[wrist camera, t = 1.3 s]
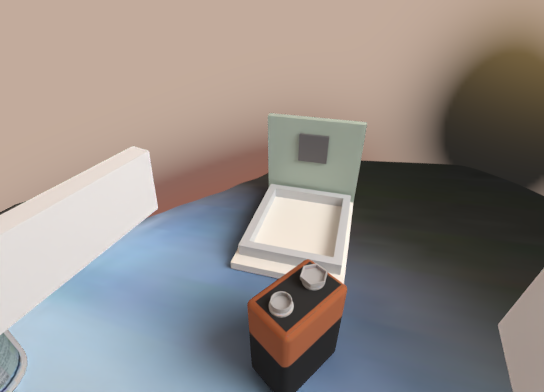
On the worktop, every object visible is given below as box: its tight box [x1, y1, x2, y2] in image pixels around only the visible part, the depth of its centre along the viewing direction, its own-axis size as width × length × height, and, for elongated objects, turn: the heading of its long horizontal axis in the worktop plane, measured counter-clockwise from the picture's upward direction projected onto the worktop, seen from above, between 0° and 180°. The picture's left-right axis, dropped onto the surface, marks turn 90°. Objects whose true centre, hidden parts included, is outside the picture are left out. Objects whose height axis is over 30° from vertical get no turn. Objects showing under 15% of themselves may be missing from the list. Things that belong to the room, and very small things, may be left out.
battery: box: [247, 259, 347, 392], centre depth 26 cm, size 4×7×10 cm, turn 132°
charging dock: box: [231, 113, 367, 284], centre depth 39 cm, size 17×13×13 cm
